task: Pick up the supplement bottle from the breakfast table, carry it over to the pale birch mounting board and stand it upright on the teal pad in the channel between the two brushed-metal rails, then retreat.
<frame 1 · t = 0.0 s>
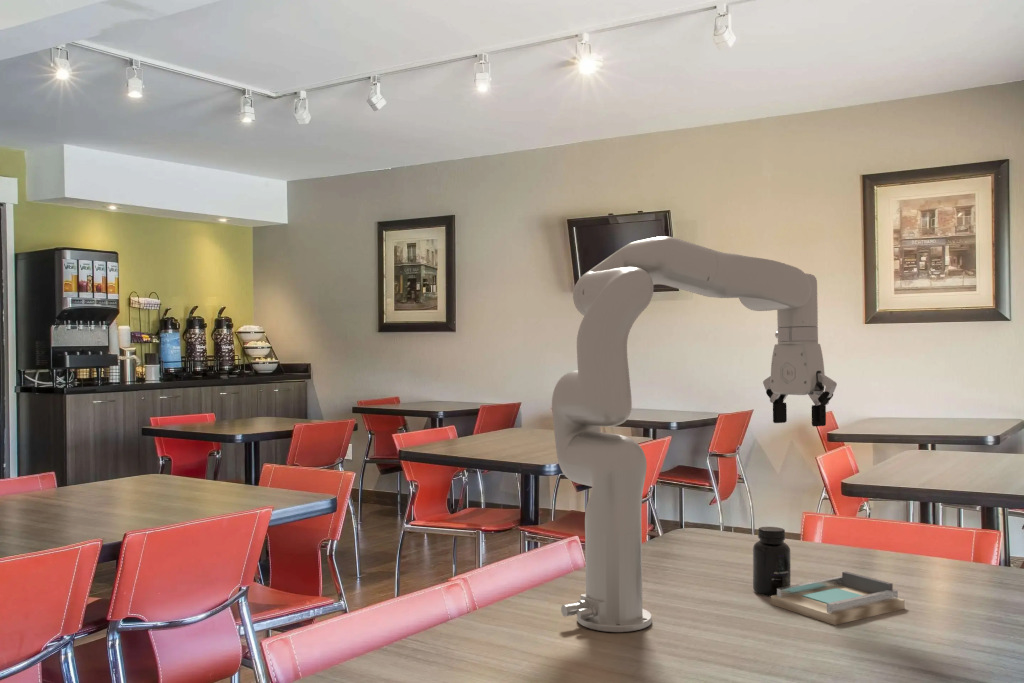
hand: (798, 424, 169), 31 cm above the table, tool pointing down, fingers open, 9 cm apart
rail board: (837, 606, 154), on the table
supplement bottle: (771, 593, 163), on the table
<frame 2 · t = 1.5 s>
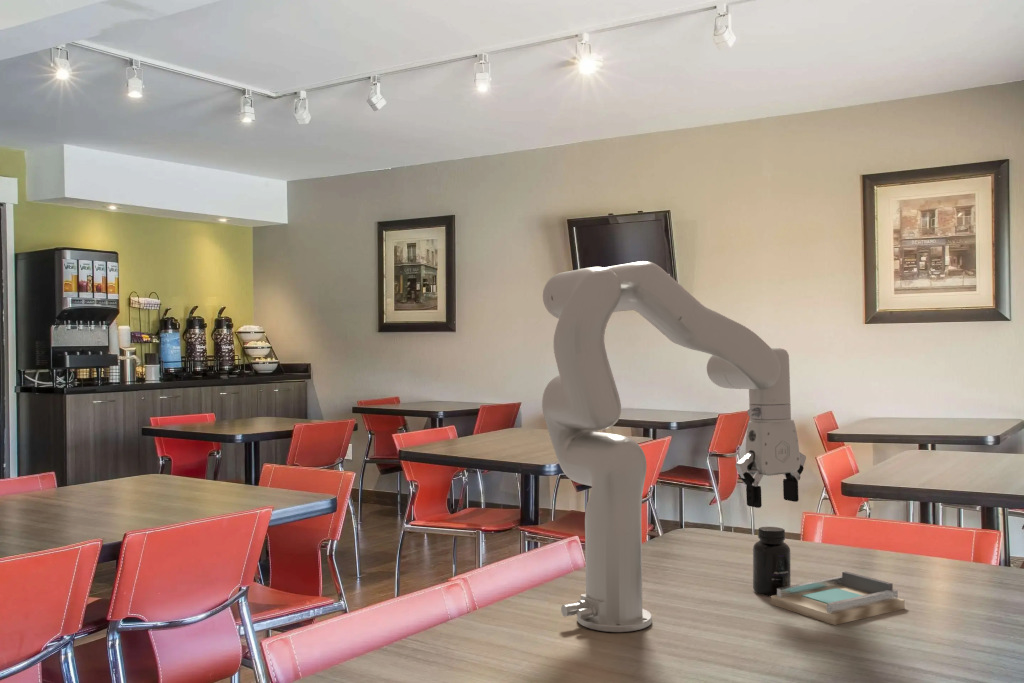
hand: (772, 503, 164), 17 cm above the table, tool pointing down, fingers open, 9 cm apart
nothing on the table moved.
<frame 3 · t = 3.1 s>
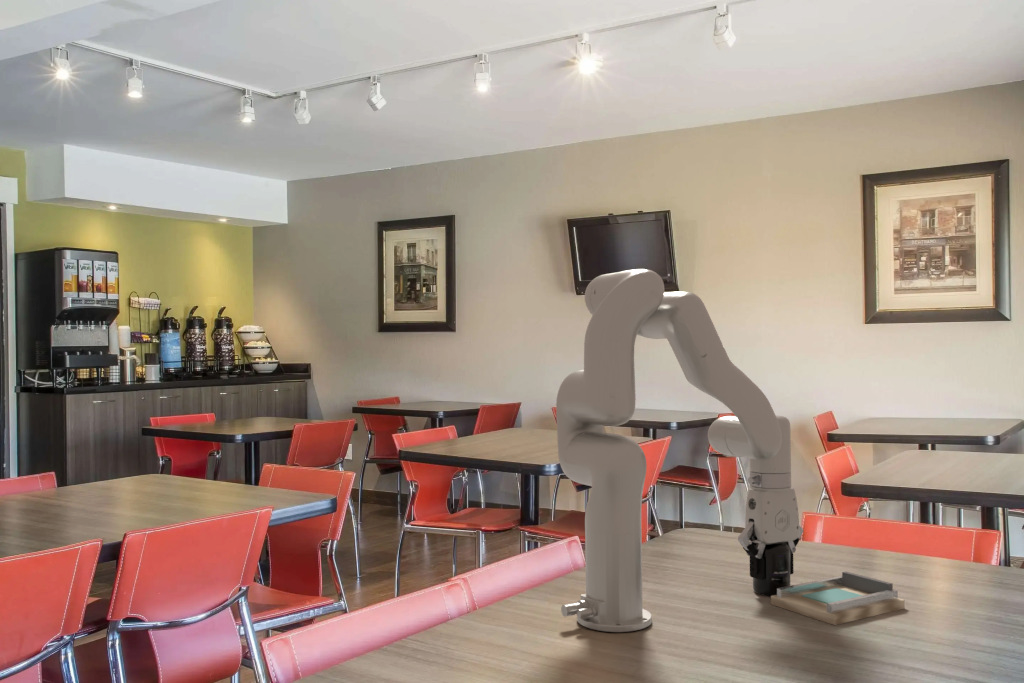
hand: (771, 574, 163), 3 cm above the table, tool pointing down, fingers closed on supplement bottle, 6 cm apart
supplement bottle: (771, 593, 163), on the table, touching gripper
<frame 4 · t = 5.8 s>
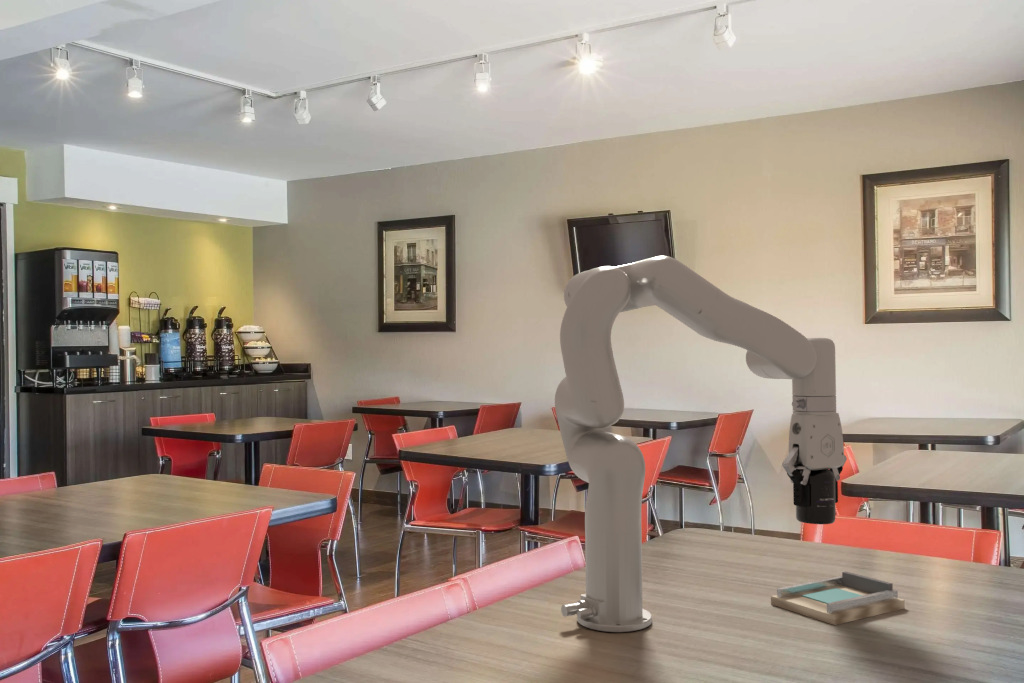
hand: (815, 503, 157), 18 cm above the table, tool pointing down, fingers closed on supplement bottle, 6 cm apart
supplement bottle: (815, 522, 157), point 14 cm above the table, touching gripper
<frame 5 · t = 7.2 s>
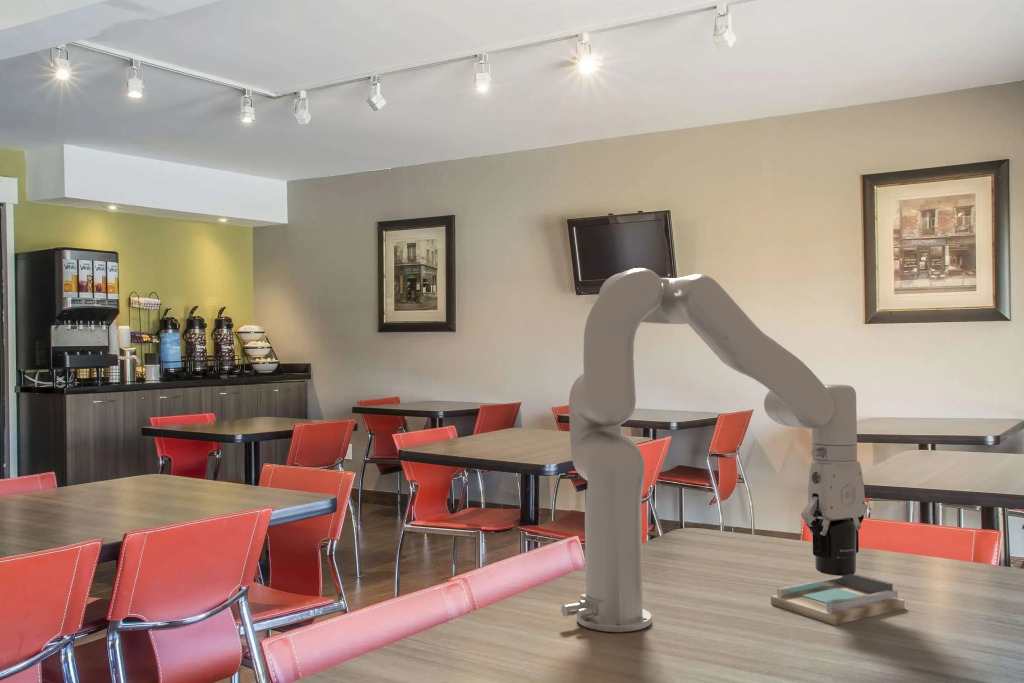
hand: (835, 553, 154), 9 cm above the table, tool pointing down, fingers closed on supplement bottle, 6 cm apart
supplement bottle: (835, 573, 154), point 6 cm above the table, touching gripper
when the fingers open (6 cm above the table, at t = 8.3 s): supplement bottle drops 1 cm, resting on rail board.
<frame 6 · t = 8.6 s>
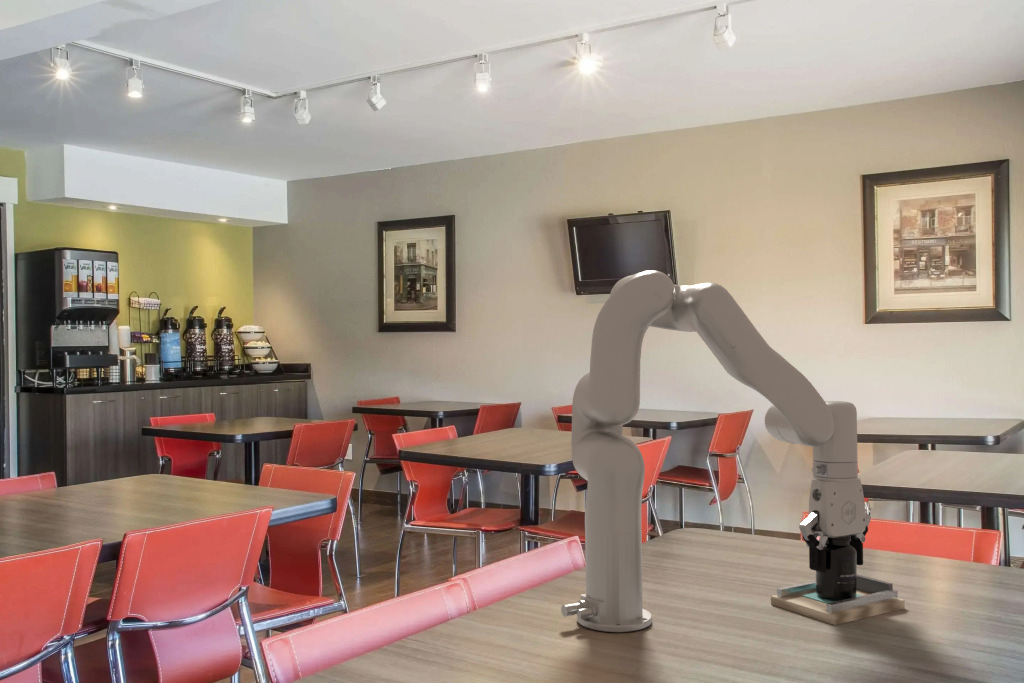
hand: (836, 567, 154), 7 cm above the table, tool pointing down, fingers open, 9 cm apart
supplement bottle: (836, 597, 154), point 2 cm above the table, touching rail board
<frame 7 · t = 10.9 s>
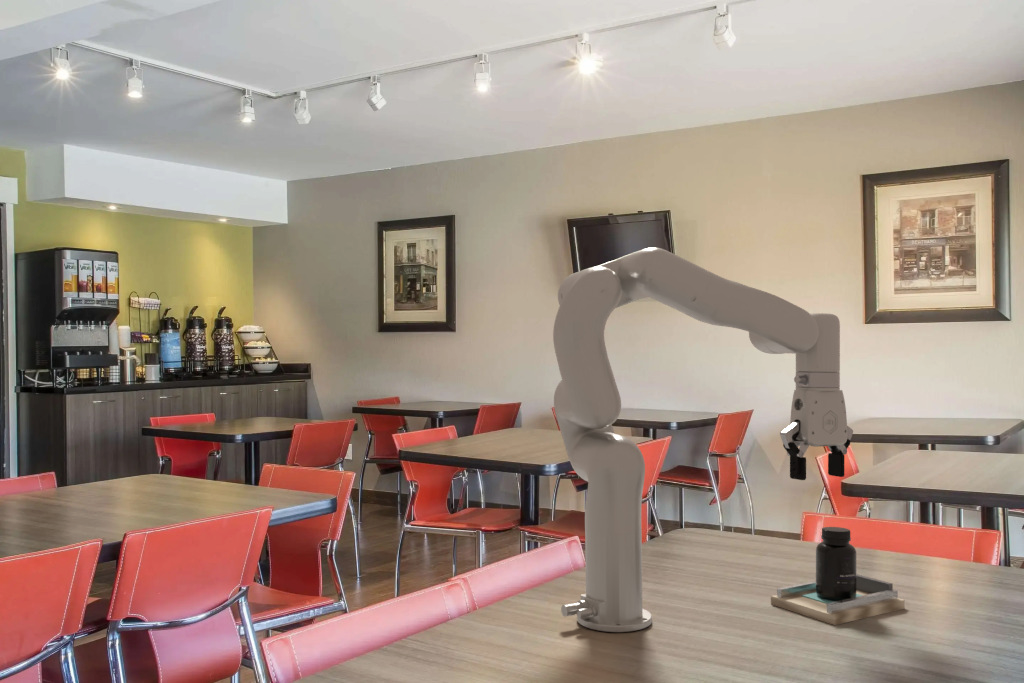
hand: (817, 477, 155), 23 cm above the table, tool pointing down, fingers open, 9 cm apart
nothing on the table moved.
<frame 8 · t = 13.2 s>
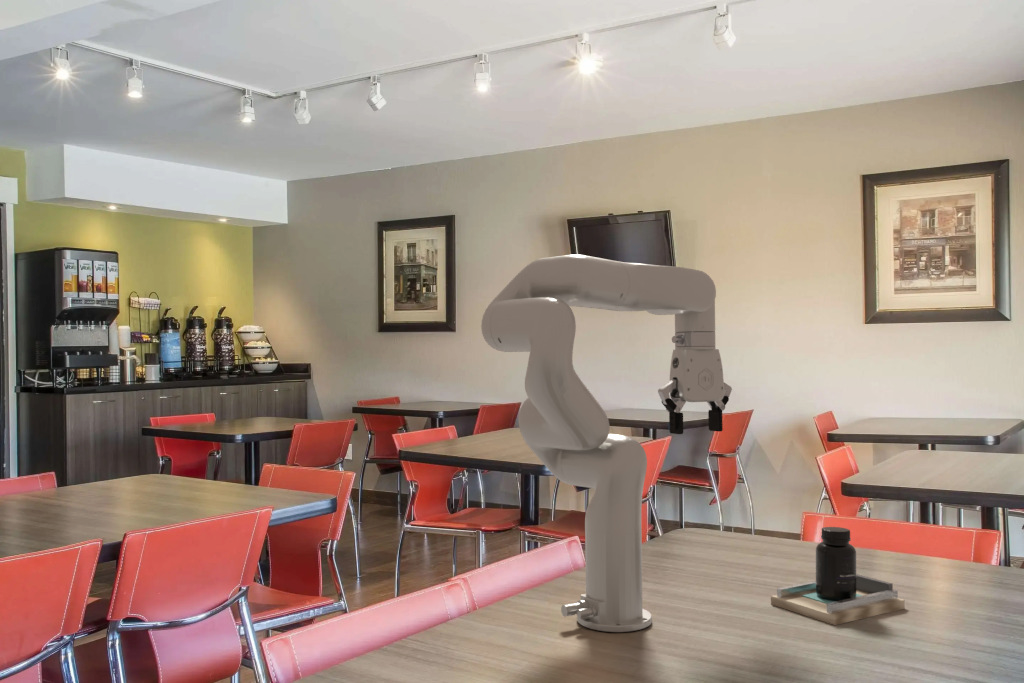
hand: (696, 432, 164), 30 cm above the table, tool pointing down, fingers open, 9 cm apart
nothing on the table moved.
at the end: supplement bottle inside the target area on the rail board (0.4 cm from its centre), point 1.5 cm above the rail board's base; supplement bottle tilted 0°; the gripper is holding nothing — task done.
